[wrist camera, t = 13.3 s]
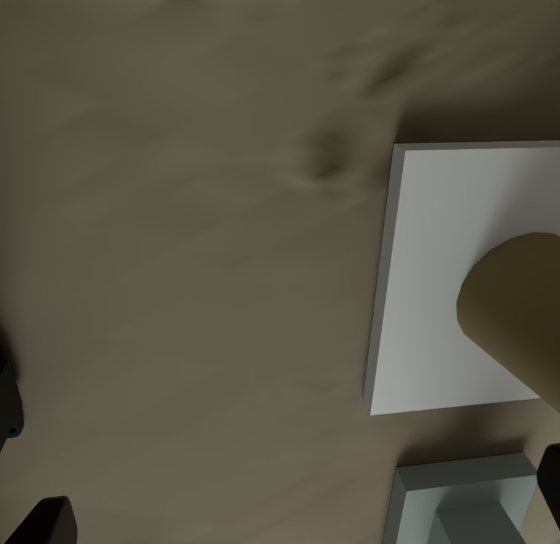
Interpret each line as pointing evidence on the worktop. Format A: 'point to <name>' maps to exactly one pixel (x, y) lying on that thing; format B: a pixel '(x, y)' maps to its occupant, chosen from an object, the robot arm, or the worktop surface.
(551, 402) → the cork
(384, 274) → the arbor press
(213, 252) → the worktop surface
